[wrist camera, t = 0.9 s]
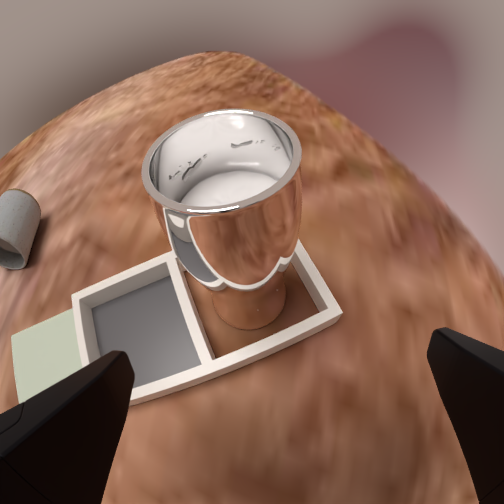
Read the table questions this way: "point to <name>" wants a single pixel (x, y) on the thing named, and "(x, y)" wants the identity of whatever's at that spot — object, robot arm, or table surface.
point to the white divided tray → (150, 331)
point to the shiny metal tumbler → (230, 207)
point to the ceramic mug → (17, 227)
